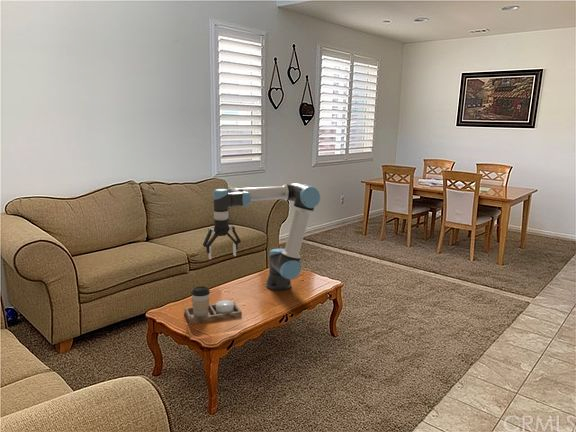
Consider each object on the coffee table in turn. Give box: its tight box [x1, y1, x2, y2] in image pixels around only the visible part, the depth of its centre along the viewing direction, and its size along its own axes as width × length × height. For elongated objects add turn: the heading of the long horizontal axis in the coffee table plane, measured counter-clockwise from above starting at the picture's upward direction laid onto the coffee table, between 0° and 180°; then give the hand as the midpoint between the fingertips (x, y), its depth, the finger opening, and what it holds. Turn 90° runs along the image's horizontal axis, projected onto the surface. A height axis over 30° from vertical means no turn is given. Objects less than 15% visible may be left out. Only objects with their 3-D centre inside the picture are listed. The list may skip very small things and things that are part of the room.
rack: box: [184, 301, 243, 325], centre depth 224 cm, size 26×14×4 cm, turn 112°
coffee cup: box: [191, 286, 211, 318], centre depth 220 cm, size 9×9×15 cm
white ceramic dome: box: [215, 299, 234, 314], centre depth 226 cm, size 9×9×5 cm
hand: (222, 257), depth 236 cm, fingers open, 13 cm apart
